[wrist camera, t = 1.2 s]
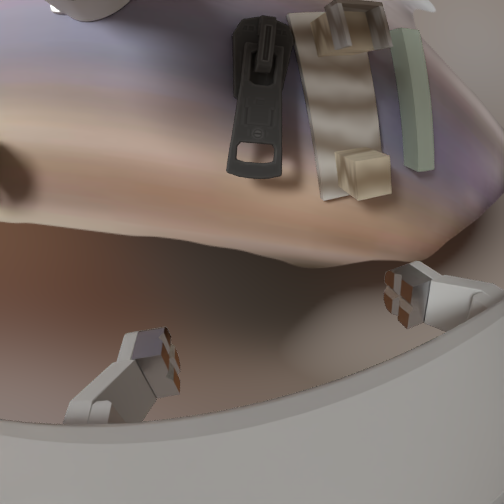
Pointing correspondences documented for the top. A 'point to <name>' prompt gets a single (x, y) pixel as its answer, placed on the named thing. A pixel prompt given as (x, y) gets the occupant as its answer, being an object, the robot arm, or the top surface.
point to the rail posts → (343, 95)
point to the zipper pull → (259, 91)
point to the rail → (413, 99)
